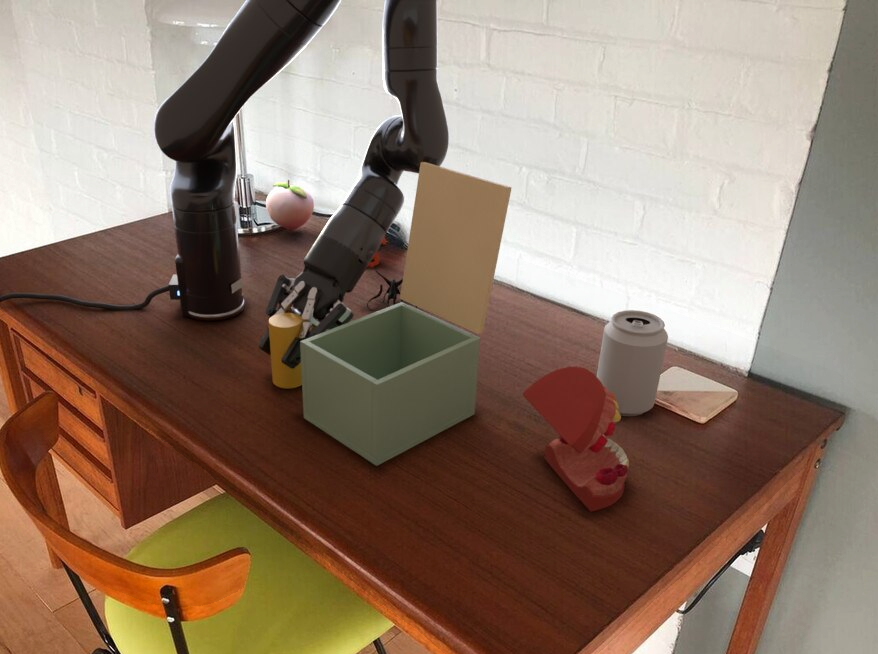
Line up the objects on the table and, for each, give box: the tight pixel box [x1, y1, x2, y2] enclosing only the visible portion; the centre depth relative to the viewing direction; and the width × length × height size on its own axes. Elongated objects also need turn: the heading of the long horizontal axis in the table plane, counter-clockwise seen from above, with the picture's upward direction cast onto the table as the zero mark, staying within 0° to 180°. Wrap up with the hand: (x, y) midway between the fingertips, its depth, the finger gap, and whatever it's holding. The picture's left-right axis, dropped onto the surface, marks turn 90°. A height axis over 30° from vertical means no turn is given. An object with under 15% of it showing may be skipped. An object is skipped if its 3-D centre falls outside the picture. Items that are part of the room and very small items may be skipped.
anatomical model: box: [522, 366, 630, 513], centre depth 89 cm, size 10×8×15 cm
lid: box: [399, 162, 512, 335], centre depth 99 cm, size 17×14×1 cm
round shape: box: [268, 313, 303, 389], centre depth 109 cm, size 4×4×9 cm
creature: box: [366, 270, 418, 312], centre depth 130 cm, size 8×5×8 cm
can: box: [596, 309, 669, 417], centre depth 103 cm, size 8×8×12 cm
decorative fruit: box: [265, 179, 315, 232], centre depth 159 cm, size 9×8×10 cm
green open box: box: [300, 301, 481, 467], centre depth 101 cm, size 17×14×11 cm
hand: (276, 358), depth 108 cm, fingers closed on round shape, 4 cm apart
